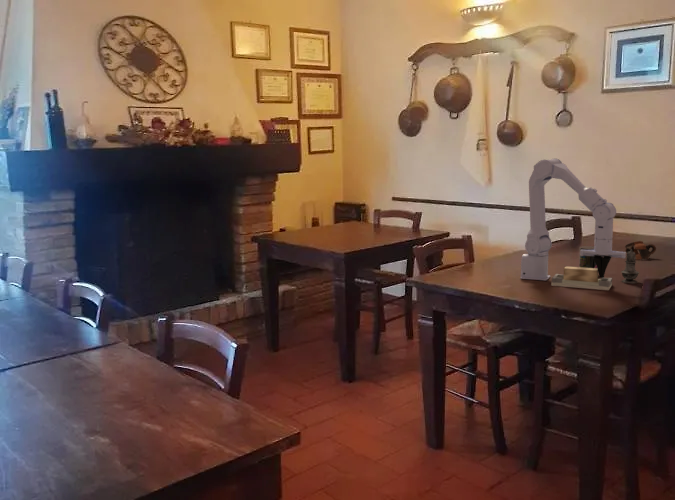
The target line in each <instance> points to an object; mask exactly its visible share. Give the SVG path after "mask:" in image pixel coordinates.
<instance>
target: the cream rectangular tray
mask: <svg viewBox="0 0 675 500" xmlns="http://www.w3.org/2000/svg"><path fill="white" fill-rule="evenodd" d="M563 279H564V274H559V273H555V274H554V275H553V276H551V284H550V286H553V287H562V288H563V287H565V288H576V289H577V288H579V289H590V290H601V291H610V289H611V287H612V286H613V277H604V278H598V282H586V281H573V280H563Z"/></svg>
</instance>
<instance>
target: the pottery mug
mask: <svg viewBox="0 0 675 500" xmlns="http://www.w3.org/2000/svg"><path fill="white" fill-rule="evenodd" d="M624 247H625V250H624V252H626V254H627V252H629V251H631V249H632V251H633V252H635V261H638V260H649V258H650V257H651V255H654V253H655V252H656V251H657V247H656V245H655V244H653V243H650V244H644V241H641V240H639V241H633V242H630V243H627V244H625V246H624ZM650 248H652V249H651V251H650Z"/></svg>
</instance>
